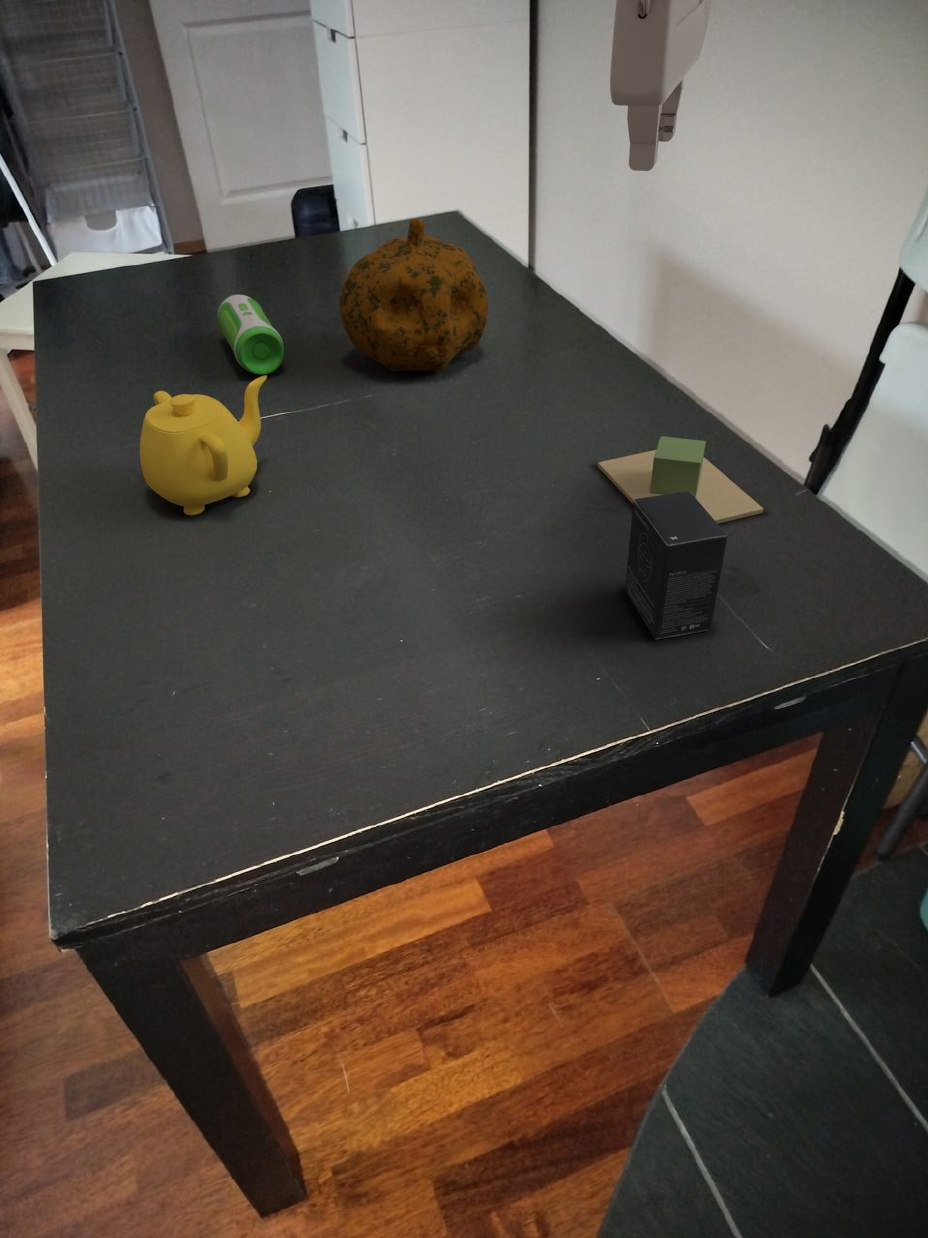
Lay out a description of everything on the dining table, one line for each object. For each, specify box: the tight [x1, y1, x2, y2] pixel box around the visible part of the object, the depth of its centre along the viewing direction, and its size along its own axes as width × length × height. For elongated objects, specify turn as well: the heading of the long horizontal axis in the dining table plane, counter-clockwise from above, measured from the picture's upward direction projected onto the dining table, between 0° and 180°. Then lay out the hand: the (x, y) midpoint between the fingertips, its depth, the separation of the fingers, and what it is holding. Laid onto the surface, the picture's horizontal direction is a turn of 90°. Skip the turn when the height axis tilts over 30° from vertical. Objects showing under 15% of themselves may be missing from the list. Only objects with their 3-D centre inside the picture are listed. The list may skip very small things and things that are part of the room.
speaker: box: [216, 294, 285, 376], centre depth 130 cm, size 18×7×8 cm, turn 23°
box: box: [624, 491, 729, 640], centre depth 78 cm, size 8×6×11 cm
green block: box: [650, 435, 707, 498], centre depth 96 cm, size 5×5×4 cm
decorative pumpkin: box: [338, 218, 489, 372], centre depth 123 cm, size 20×21×20 cm
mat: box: [597, 449, 764, 525], centre depth 97 cm, size 16×12×1 cm
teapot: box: [139, 375, 268, 516], centre depth 98 cm, size 14×14×12 cm
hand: (652, 153), depth 65 cm, fingers open, 8 cm apart
